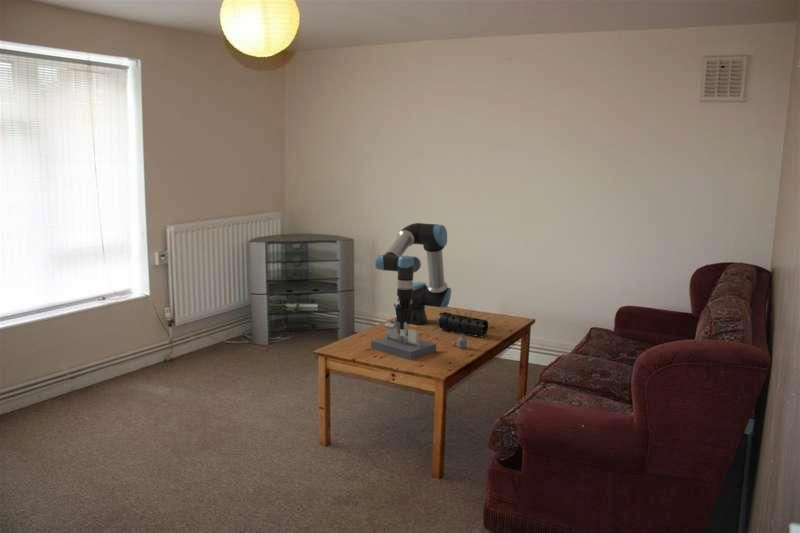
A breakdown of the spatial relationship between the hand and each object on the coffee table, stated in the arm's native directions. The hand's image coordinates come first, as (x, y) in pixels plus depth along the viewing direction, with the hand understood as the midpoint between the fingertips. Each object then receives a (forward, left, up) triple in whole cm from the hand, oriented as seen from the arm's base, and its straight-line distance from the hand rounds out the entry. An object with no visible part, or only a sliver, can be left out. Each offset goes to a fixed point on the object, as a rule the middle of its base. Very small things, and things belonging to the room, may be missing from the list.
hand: (403, 335), depth 325 cm
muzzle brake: (-56, -4, -11) cm, 57 cm away
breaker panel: (-8, -6, -10) cm, 14 cm away
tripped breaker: (-8, 0, -5) cm, 9 cm away
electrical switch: (-29, -27, -11) cm, 41 cm away
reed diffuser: (-32, +12, -11) cm, 36 cm away
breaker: (-8, -12, -5) cm, 15 cm away
